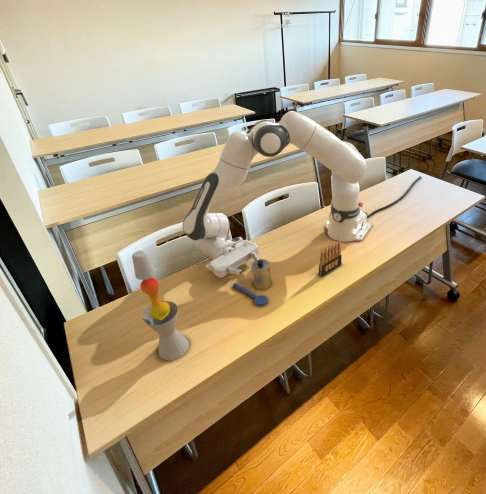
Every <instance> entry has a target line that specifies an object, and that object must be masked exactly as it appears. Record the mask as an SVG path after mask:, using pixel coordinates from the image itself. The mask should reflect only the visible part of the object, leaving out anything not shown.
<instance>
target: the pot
mask: <svg viewBox="0 0 486 494" xmlns="http://www.w3.org/2000/svg"><path fill="white" fill-rule="evenodd" d="M270 266H271V263H270V261H269V260H267V259H265V258H260V259H258V260H255V261H254V260H253V261H252V262H251V264H250V268H251V272H252V279H253V286H254V288H255V289H257V290H266V289H268V288H269V287H270V286H271V285H272V280H271V278H272V277H271V269H270Z"/></svg>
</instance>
